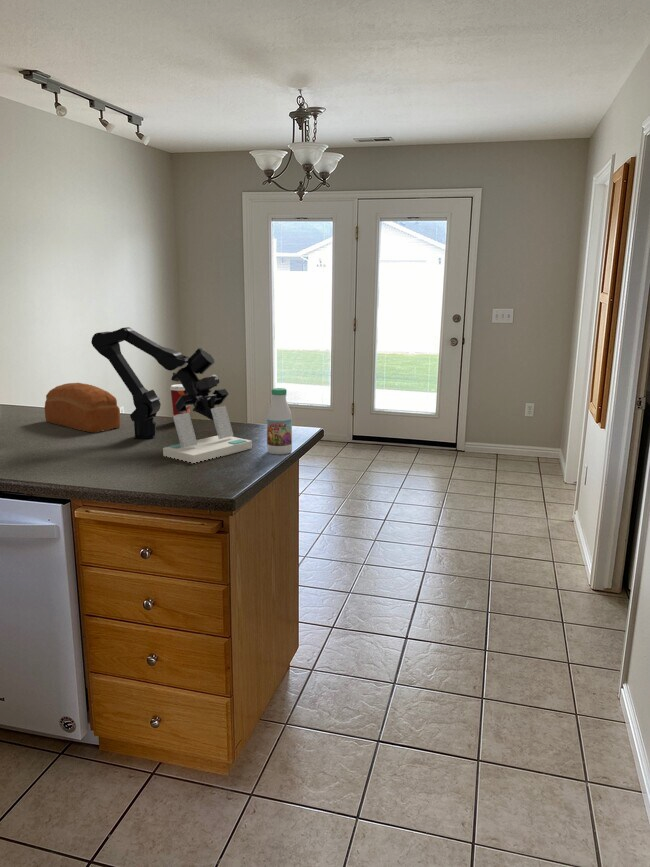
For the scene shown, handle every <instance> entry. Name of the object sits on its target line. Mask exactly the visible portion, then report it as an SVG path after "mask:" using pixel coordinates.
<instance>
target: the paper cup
mask: <svg viewBox="0 0 650 867" xmlns="http://www.w3.org/2000/svg"><path fill="white" fill-rule="evenodd" d="M169 390H170V394H171V395H170V396H171V405H172V414H173V416H174V415H178V414H183V413H189V414H190V412H191V410H190V408H191V407H190V406H191V405H185V406H186V410H185V411H183V412H178V411H177V409H176V407H175V405H176V403H177V401H178V400H179V398H180V397H181V395H187V394H184V390H185V389H184V387H183V386H182V384H181V383H179V384H178V383H177V384H171V386H170V388H169ZM190 415H191V414H190Z"/></svg>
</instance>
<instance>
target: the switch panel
mask: <svg viewBox="0 0 650 867" xmlns="http://www.w3.org/2000/svg"><path fill="white" fill-rule="evenodd" d="M196 440H197V445H193V446H189V447H184V448H181V445H180V443H176V444H171V445H169V446H165V447H163V448H162V453H163V454H162V455H163V457H166V456H167V457H166V458H170V457H171V459H174V458H175V459H174V460H177V459H179V460H178V461H181V460H183V461H182V462H185V461H187V462H186V463H189V462H191V463H190V464H193V463H195V464H197V463H196V462H198V463H201V462H200V461H202V462H205V461H204V460H206V461H209V460H208V459H210V460H213V459H217V458H220V456H221V457H224V456H225V457H226V456H228V455H233V454H236V453H239V452H244V451H246V450H247V451H248V450H250V449H253V440H251V439H246V438H245V439H244V438H242V437H236V436H231V437H227V438H223V439H219V438H218V434H217V435H214V436H208V437H204V438H201V439H196ZM216 457H217V458H216ZM212 458H213V459H212Z"/></svg>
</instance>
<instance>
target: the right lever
mask: <svg viewBox="0 0 650 867" xmlns="http://www.w3.org/2000/svg"><path fill="white" fill-rule="evenodd" d="M227 409H228V408H227V406H226V405H222V406H216V407H215V408H212V409H211V412H212V416H213V420H214V421H213V423H214V426H215V431H216V433H217V435H218V438H219V439H223V438H227V437H231V436H232V437H235V436H234V435H235V434H234V433H233V428H232V424H231V421H230V417H229V413H228V410H227Z"/></svg>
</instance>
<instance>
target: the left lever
mask: <svg viewBox="0 0 650 867" xmlns="http://www.w3.org/2000/svg"><path fill="white" fill-rule="evenodd" d="M190 415H191V414H189V413H183V414H178V415H173V416H172V418H173V422H174V426H175V428H176V433H177V438H178V440H179V444H180V445H181V448H184V447H189V446H193V445H197V440H198V439H197V438H196V437H197V436H196V434H195V430H194V426H193V422H192V418H191V416H190Z"/></svg>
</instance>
